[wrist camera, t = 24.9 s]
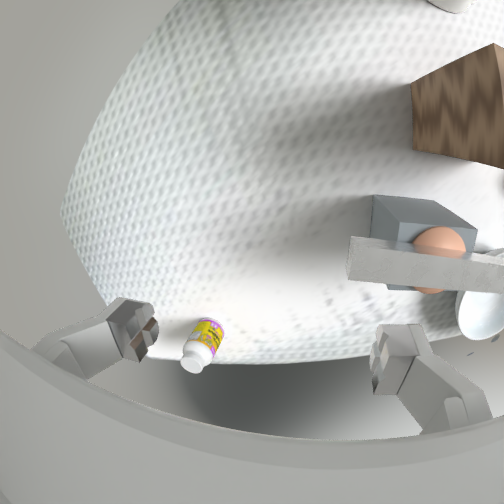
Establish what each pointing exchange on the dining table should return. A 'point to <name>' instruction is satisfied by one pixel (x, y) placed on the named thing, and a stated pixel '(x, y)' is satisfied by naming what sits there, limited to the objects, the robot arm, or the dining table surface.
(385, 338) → the robot arm
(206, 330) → the supplement bottle
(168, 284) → the dining table surface
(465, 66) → the stand
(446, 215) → the low block
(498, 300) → the serving bowl
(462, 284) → the white bar
